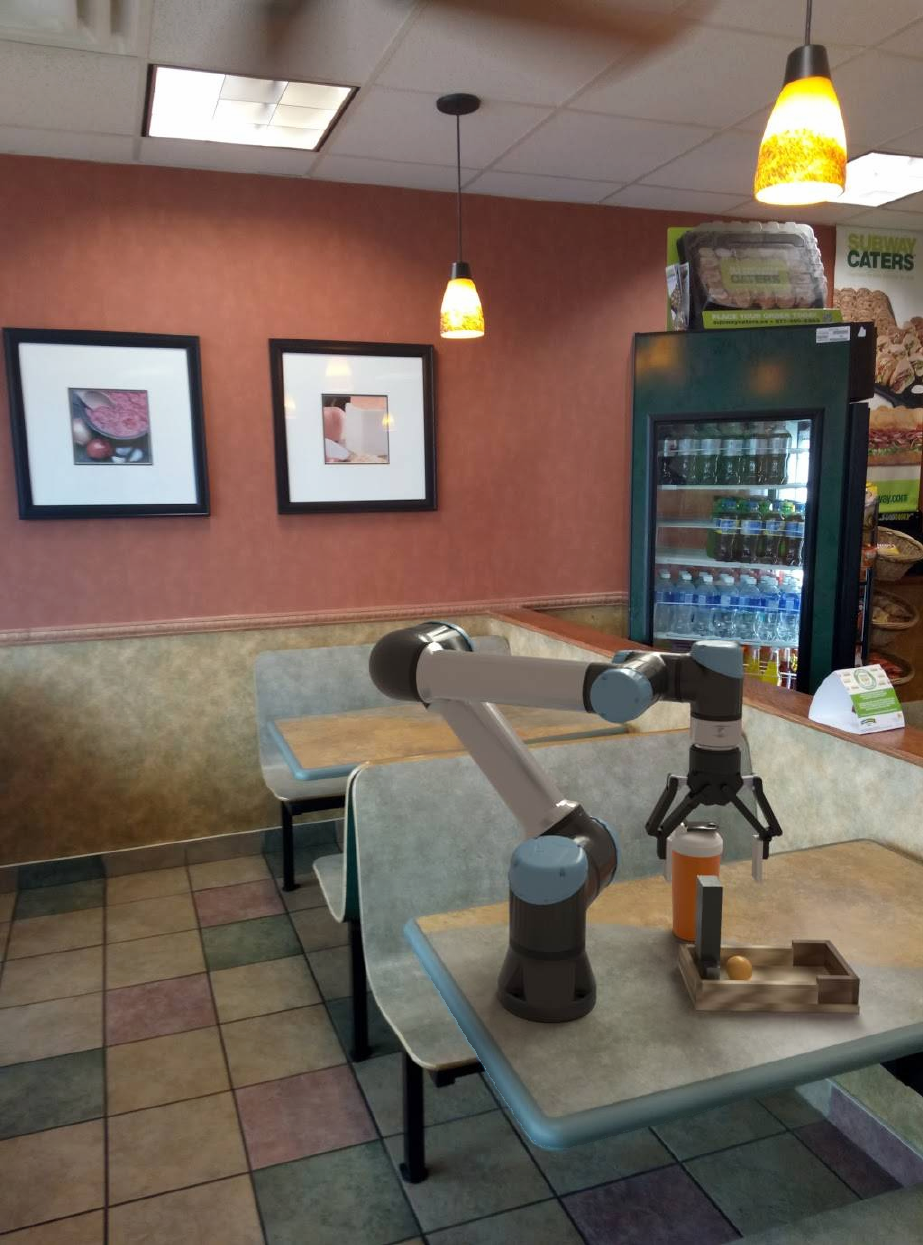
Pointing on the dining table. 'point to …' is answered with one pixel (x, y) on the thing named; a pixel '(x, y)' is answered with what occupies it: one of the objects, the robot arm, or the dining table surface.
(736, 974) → the ball
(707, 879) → the block
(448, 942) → the dining table surface
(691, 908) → the shaker bottle
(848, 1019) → the dining table surface
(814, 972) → the tray
